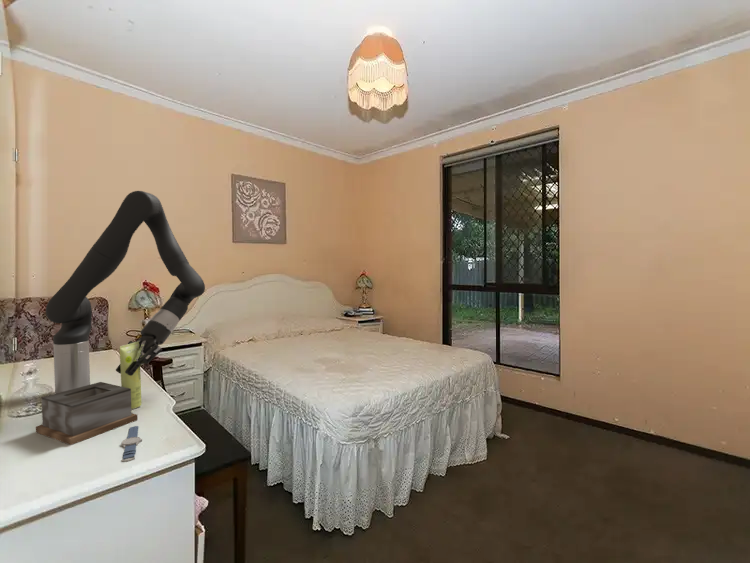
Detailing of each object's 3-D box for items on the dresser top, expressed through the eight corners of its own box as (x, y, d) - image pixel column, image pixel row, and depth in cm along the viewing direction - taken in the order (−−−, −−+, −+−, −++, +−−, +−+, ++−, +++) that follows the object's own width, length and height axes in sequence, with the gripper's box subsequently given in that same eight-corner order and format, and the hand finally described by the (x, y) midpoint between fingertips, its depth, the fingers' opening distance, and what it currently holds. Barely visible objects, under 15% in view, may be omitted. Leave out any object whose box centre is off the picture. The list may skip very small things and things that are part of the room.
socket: (35, 432, 96) (34, 397, 95) (103, 410, 110) (102, 380, 110) (70, 445, 89) (69, 408, 89) (137, 419, 104) (136, 388, 103)
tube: (141, 408, 112) (139, 344, 111) (121, 412, 109) (119, 346, 108) (141, 402, 117) (139, 340, 116) (121, 406, 114) (119, 342, 113)
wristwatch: (117, 465, 81) (116, 460, 81) (125, 429, 98) (125, 426, 98) (140, 460, 83) (139, 455, 83) (144, 426, 100) (144, 422, 100)
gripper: (138, 318, 121) (98, 363, 111) (167, 320, 115) (128, 369, 105) (154, 331, 126) (118, 376, 116) (183, 334, 120) (147, 382, 110)
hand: (123, 372), depth 110 cm, fingers closed on tube, 4 cm apart
